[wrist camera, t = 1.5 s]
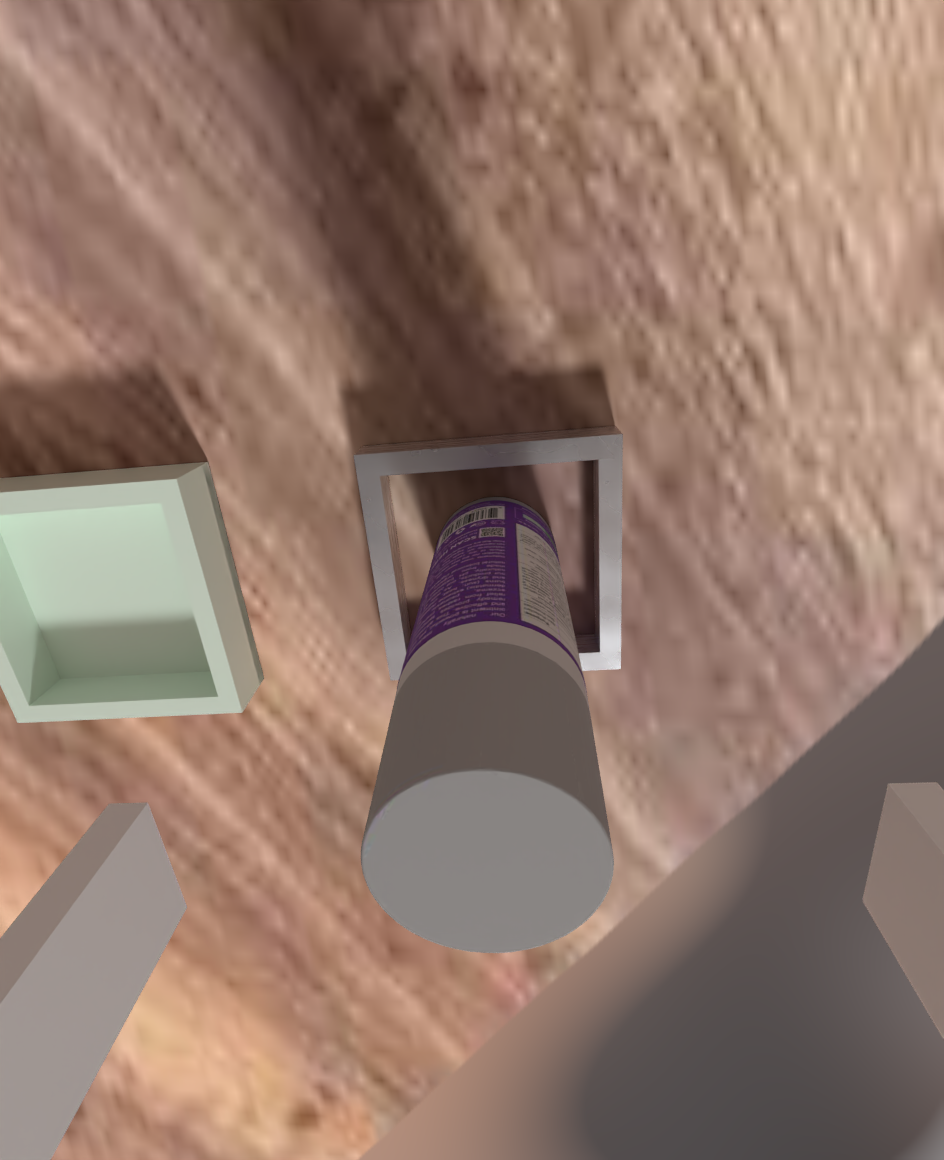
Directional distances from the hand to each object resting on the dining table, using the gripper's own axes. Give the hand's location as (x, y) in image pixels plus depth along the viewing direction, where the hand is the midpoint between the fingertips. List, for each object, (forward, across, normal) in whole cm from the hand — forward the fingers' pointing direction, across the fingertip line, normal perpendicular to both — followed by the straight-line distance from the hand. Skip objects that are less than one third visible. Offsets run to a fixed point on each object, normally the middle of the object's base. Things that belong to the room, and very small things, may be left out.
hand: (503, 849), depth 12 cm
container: (+15, 0, 0) cm, 15 cm away
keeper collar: (+14, 0, 0) cm, 14 cm away
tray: (+14, -16, 0) cm, 21 cm away
